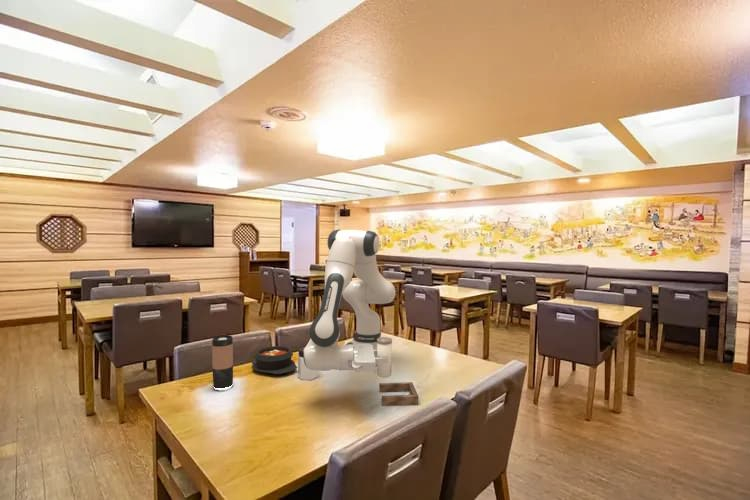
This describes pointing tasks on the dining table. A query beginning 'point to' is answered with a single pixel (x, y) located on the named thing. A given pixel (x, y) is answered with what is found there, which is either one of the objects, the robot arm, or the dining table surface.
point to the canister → (384, 351)
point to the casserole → (274, 360)
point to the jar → (305, 368)
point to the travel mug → (222, 361)
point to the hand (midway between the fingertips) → (386, 356)
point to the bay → (399, 399)
